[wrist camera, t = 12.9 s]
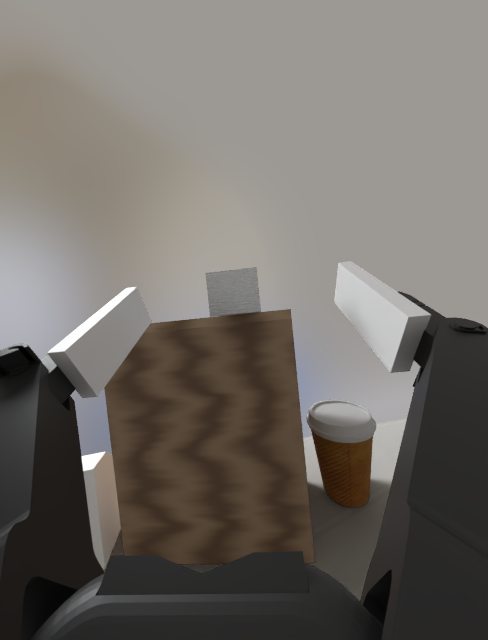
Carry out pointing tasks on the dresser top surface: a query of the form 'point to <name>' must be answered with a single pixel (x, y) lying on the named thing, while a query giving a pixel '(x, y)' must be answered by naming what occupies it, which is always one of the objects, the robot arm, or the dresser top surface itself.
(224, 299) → the steel bar
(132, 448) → the walnut shelf
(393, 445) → the dresser top surface
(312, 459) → the dresser top surface
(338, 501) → the disposable coffee cup
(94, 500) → the corner bracket
